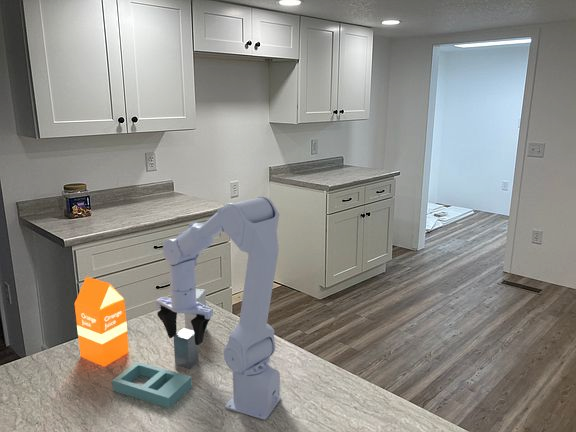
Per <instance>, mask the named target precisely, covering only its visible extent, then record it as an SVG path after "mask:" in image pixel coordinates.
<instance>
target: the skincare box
mask: <svg viewBox="0 0 576 432" xmlns="http://www.w3.org/2000/svg"><path fill="white" fill-rule="evenodd" d="M206 294H207V293H206V289H202V288H201V289H199V288H196V299H197V302H199V303H201V304H203V305H205V306H207V300H206V299H207V297H206ZM195 317H196V315H194V314H189V313H184V326H185V327H184V328H185V329H189V330H193V331H194V329H193V326H192V324H191V320H192V319H194V318H195ZM207 330H208V326H207V327H206V329H205V332H206V331H207Z"/></svg>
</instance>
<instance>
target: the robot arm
mask: <svg viewBox="0 0 576 432" xmlns="http://www.w3.org/2000/svg"><path fill="white" fill-rule="evenodd" d="M279 219H280V213H279V211H278V209H277V207H276V206H275V204H274V203H273V201H272V200H271V199H270V198H269V197H267V196H264V195H263V196H262V195H261V196H258V197H256V198H250V199H247V200H243V201H238V202H230V203H226V204H224V205H223V206H222V207H219V208H217V212H216V213H214V214H213V215H212V216H211V217H209V218H208V219H207V220H206V221H205V222H204V223H203V222H196V221H195V222H191V223H189V224H188V228H187V229H186V230H185V231H181V232H179V233H178V235H177V237H175V238H168V239H166V240H165V241H164V243H163V245H162V252H163V253H162V254H163V257H164V259H165V261H166V262H167V264H168V267H169V286H170V297H163V296H161V297H159V298H158V299H156V300H155V302H156V309H159V310H158V311H157V317H158V318H159V319H160V320H161V322H162V323H163V325H164V328H165V330H166V333H167V336H168V338H169V339H172V338H174V335H175V334H176V333H177V332H178V331H177V330H178V329H177V317H178V314H185V313H189V314H194V315H196V317H195V318H194V319H192V320H191V324H192V326H193V329H194V336H195V344H196V345H198V346H200V345H201V344H202V342H203V341H204V338H205V337H204V336H205V333H206V331H205V329H206V327H207V328H208V323H209V321H210V320H211V318H212V317H213V316H214V311H213V310H214V308H212V307H209V306H207V305H206V306H205V305H203V304H201V303H199V302H197V299H196V289H197V288H196V266H197V265H198V258H199V256H200V253H201V252H203V251H204V250H206V249H208V248H209V247H211V246H212V244H213V242H214V237H216V236H217V235H219V234H220V233H223V232H224V233H225V234H226V235H227V236H228V237H229V238H230V240H231V241H232V242H233V243H234V244H235V246H236V247H237V248H238V249H239V250H240V251H241V252H244V253H246V254H247V261H246V262H247V263H246V271H245V278H244V285H243V294H242V300H241V308H240V314H239V315H240V316H239V322H238V324H237V326H236V327H235V328H234V329H233V331H232V332H231V333H230V334H229V336H228V341H227V343H226V344H225V346H224V348H223V360H224V362H225V364H226V366H227V368H228V369H229V370H231V371H232V395H233V396H232V397H231V398H230V399H229V401H228V402H227V403H226V404H225V409H228V410H230V411H234V412H238V413H240V414H244V415H247V416H251V417H254V418H257V419H259V420H263V421H264V420H267V419H268V418H269V416H270V415H271V413H272V412H273V410H274V409H275V408H276V406H277V405H278V404H279V402H280V401H281V399H282V396H281V395H280V394H281V393H280V391H281V388H280V387H281V386H280V385H281V383H280V382H281V381H280V380H281V376H280V371H279V370H278V369H276V368H274V367H272V366H271V365H270V364H269V363H270V362H271V359H270V358H271V356H273V355H274V353H275V351H276V342H275V329H274V328H273V327H272V325H270V324H269V323H268V319H269V314H270V313H269V311H270V305H271V300H272V293H273V290H274V289H273V287H274V283H275V276H276V269H277V263H278V258H279V257H278V256H279V250H280V249H279V242H278V241H279V240H278V225H279Z"/></svg>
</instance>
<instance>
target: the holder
mask: <svg viewBox="0 0 576 432" xmlns="http://www.w3.org/2000/svg"><path fill="white" fill-rule="evenodd" d="M138 376H143V377H145V378H150V379H148V380H147V381H146V382H145V383H144V384H138V383H133V382H132V381H133V380H134V379H136V378H137V377H138ZM192 379H193V378H192V376H190V375H186V374H183V373H179V372H176V371H172V370H169V369H165V368H163V367H158V366H155V365H150V364H148V363H144V362H141V361H136V362H135V363H134V364H132V365H131V366H129V368H127V369H126V370H124V371H123V372H121V373H120V374H119V375H117V376H115V378H114V379H112V380H111V381H112V382H111V383H112V391H114V392H117V393H120V394H123V395H127V396H130V397H131V398H132V397H133V398H135V399H137V400H142V401H144V402H148V403H152V404H153V405H157V406H161V407H164V408H166V409H171V408H172V406H173V405H175V404H176V403H177V402H178V401H179V400H180V399H181V398H182V397H183V396H184V395H185V394H186V393H187V392H188V391H189V390H191V388H193V380H192Z"/></svg>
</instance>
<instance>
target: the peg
mask: <svg viewBox="0 0 576 432" xmlns="http://www.w3.org/2000/svg"><path fill="white" fill-rule="evenodd" d="M173 347H174V348H173V349H174V350H173V351H174V366H175V367H179V368H182V369H186V370H191V369H192V368H193V366H195V365H196V364H197V363H198V362H199V345H196V344H195V336H194V331H193V330H189V329H185V327H183V328H182V329H180V330H179V331H177V332H176V334H175V335H174V336H173Z"/></svg>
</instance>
